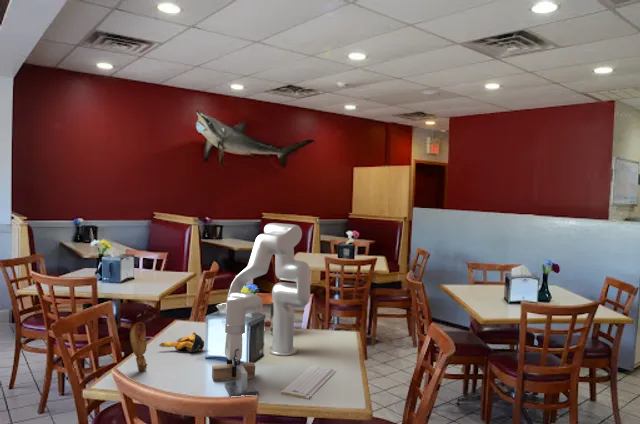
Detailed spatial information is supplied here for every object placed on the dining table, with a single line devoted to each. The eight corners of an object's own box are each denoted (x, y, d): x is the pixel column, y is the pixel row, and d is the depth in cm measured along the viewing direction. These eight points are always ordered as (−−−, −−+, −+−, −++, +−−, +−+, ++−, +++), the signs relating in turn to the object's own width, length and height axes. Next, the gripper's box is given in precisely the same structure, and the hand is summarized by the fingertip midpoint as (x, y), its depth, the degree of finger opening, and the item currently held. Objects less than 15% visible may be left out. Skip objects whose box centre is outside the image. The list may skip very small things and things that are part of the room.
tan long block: (211, 378, 196) (212, 365, 196) (252, 374, 202) (253, 362, 201) (213, 381, 192) (213, 368, 192) (254, 378, 198) (255, 365, 198)
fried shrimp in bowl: (207, 344, 223) (167, 334, 216) (197, 363, 226) (158, 354, 219) (206, 331, 231) (168, 321, 224) (197, 349, 234) (159, 340, 227)
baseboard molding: (338, 373, 208) (311, 369, 212) (339, 366, 208) (311, 362, 212) (312, 401, 179) (281, 395, 183) (312, 393, 179) (281, 387, 183)
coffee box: (268, 334, 258) (270, 303, 257) (275, 331, 264) (276, 301, 263) (284, 337, 254) (286, 305, 254) (290, 334, 260) (291, 303, 260)
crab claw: (127, 372, 197) (128, 322, 197) (134, 368, 202) (135, 318, 202) (144, 374, 196) (145, 323, 196) (150, 370, 201) (152, 320, 201)
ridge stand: (224, 386, 188) (225, 365, 187) (251, 383, 191) (251, 362, 191) (230, 398, 178) (231, 375, 177) (258, 395, 181) (259, 373, 181)
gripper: (221, 323, 203) (219, 365, 203) (229, 335, 187) (227, 380, 187) (239, 322, 206) (237, 364, 206) (249, 333, 190) (247, 379, 190)
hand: (233, 372), depth 197 cm, fingers open, 9 cm apart
